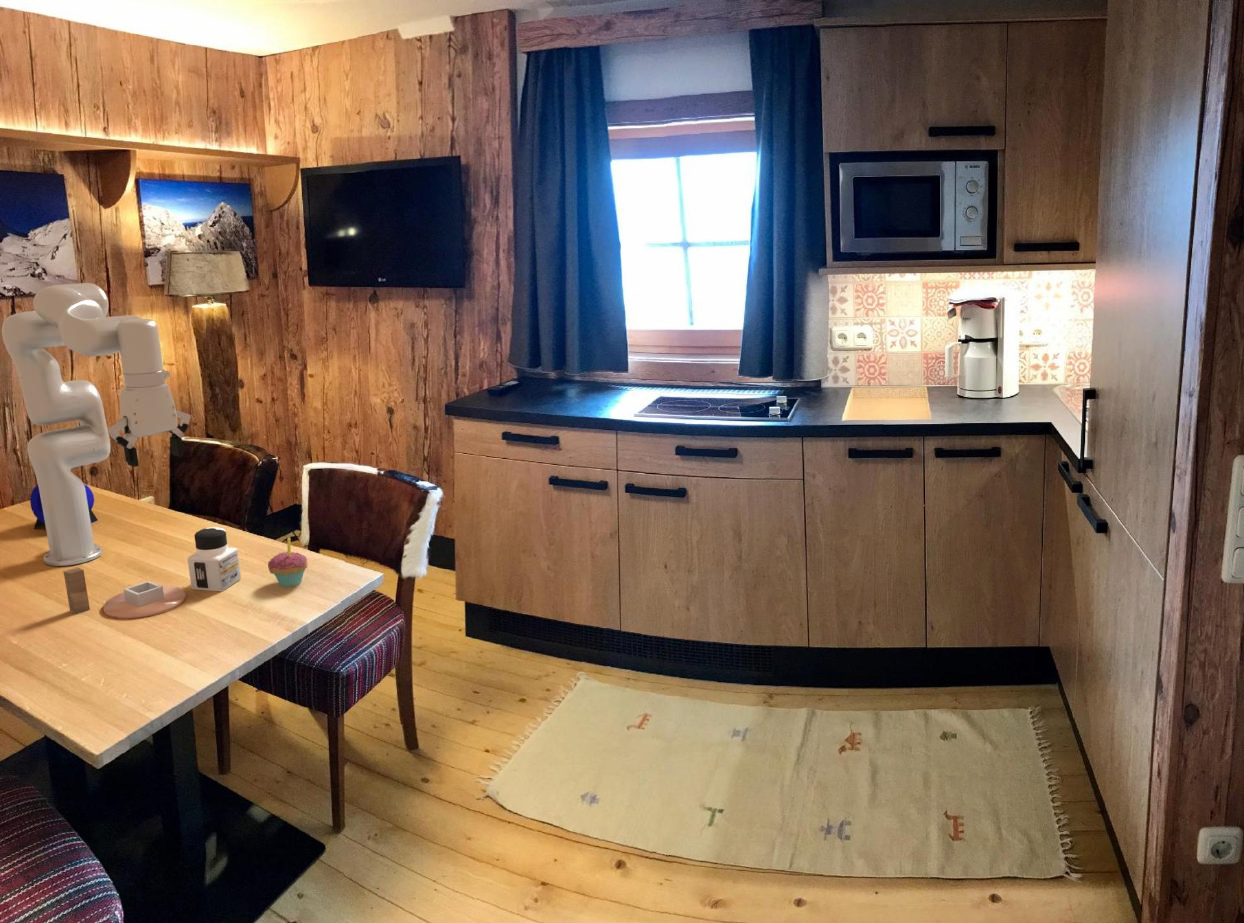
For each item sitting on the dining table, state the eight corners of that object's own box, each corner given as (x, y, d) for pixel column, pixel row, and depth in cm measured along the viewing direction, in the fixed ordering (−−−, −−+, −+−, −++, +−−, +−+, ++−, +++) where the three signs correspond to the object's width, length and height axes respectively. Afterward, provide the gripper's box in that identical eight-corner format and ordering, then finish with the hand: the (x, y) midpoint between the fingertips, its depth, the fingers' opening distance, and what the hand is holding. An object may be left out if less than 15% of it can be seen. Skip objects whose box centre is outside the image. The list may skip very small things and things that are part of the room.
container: (222, 592, 218) (215, 536, 215) (190, 589, 220) (183, 534, 216) (241, 579, 226) (235, 525, 222) (211, 577, 227) (204, 523, 224)
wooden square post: (70, 610, 209) (63, 571, 207) (83, 606, 211) (77, 567, 209) (76, 613, 208) (69, 573, 205) (89, 609, 210) (83, 569, 207)
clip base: (89, 606, 211) (86, 591, 210) (160, 583, 224) (158, 568, 223) (128, 624, 202) (126, 608, 201) (200, 599, 214) (198, 584, 213)
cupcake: (316, 582, 223) (311, 532, 220) (281, 593, 217) (276, 542, 214) (297, 573, 229) (292, 524, 226) (262, 583, 223) (257, 533, 220)
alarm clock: (31, 530, 261) (22, 475, 257) (64, 515, 273) (55, 463, 269) (72, 532, 259) (63, 477, 255) (104, 517, 271) (95, 465, 267)
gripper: (174, 372, 211) (184, 449, 216) (92, 384, 198) (105, 467, 202) (193, 375, 207) (203, 454, 211) (112, 388, 193) (124, 472, 198)
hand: (155, 460), depth 207 cm, fingers open, 9 cm apart
